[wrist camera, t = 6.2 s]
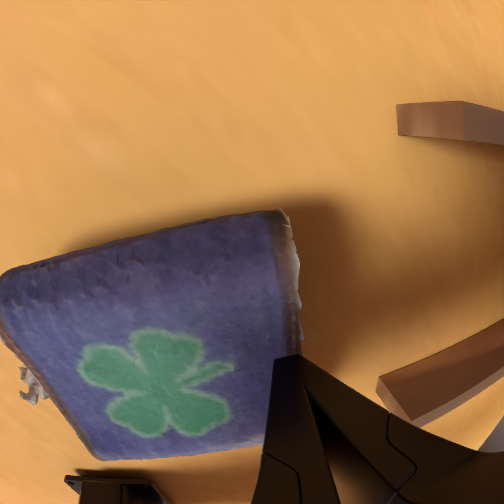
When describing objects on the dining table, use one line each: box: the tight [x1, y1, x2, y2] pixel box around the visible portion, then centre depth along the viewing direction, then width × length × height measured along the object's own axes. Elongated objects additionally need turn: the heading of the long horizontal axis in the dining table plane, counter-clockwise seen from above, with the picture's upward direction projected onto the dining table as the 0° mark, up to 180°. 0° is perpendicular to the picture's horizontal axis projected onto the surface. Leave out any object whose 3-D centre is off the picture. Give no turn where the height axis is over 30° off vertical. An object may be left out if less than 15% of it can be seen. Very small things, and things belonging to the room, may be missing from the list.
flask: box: [0, 208, 305, 461], centre depth 9 cm, size 9×3×11 cm
